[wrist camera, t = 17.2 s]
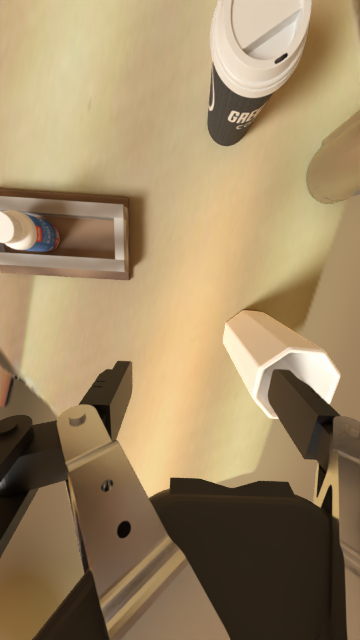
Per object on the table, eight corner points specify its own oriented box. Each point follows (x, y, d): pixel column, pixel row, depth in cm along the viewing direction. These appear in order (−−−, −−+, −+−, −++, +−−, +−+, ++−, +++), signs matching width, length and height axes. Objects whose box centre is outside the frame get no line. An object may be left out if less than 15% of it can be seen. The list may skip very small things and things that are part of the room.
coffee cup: (200, 161, 34) (217, 88, 19) (195, 88, 31) (209, -60, 17) (257, 152, 33) (317, 73, 19) (257, 78, 31) (326, -80, 16)
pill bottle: (66, 246, 37) (27, 242, 27) (40, 256, 37) (-7, 255, 28) (51, 214, 35) (5, 198, 26) (24, 225, 36) (-31, 213, 26)
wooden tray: (-11, 189, 35) (-34, 181, 31) (128, 199, 35) (122, 191, 31) (5, 272, 39) (-14, 273, 35) (129, 279, 39) (124, 282, 36)
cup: (284, 324, 42) (361, 370, 25) (254, 365, 45) (304, 434, 27) (240, 299, 41) (287, 330, 23) (212, 344, 43) (235, 402, 26)
